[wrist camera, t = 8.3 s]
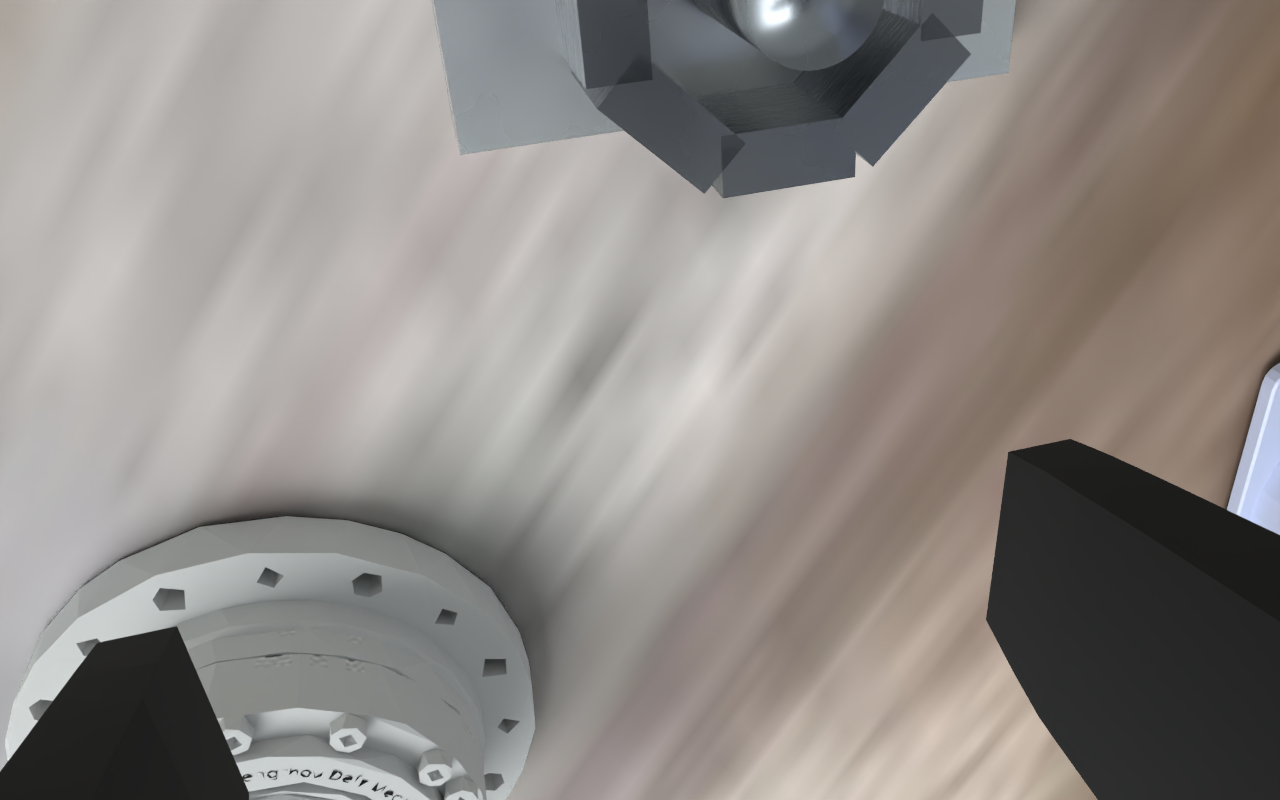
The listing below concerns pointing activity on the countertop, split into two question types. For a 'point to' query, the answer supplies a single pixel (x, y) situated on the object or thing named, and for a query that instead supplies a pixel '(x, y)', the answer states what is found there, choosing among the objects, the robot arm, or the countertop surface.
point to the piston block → (714, 77)
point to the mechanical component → (319, 658)
